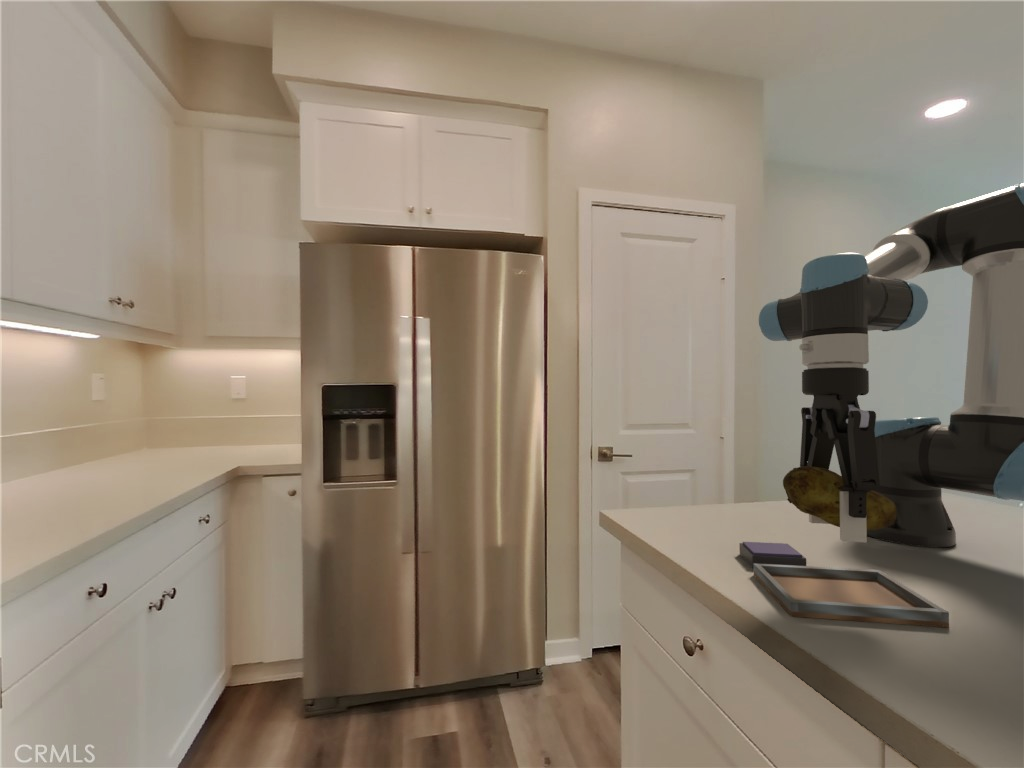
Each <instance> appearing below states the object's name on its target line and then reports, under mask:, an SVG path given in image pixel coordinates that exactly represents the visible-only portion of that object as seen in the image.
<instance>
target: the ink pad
mask: <svg viewBox="0 0 1024 768" xmlns="http://www.w3.org/2000/svg"><path fill="white" fill-rule="evenodd" d="M739 555H740V557H742V559H743V560H744V561H745V562H746V563H747V564H748V565H749V566H750V567H751V568H752V569H754V567H753V563H756V564H775V565H794V566H807V558H806V557H805V556H804V555H803V554H802V553H800V552H799V551H798V550H797V549H796V548H794V547H792V546H791V544H788V543H783V542H780V543H779V542H759V541H758V542H756V541H742V542H740V543H739Z"/></svg>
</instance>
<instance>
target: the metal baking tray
mask: <svg viewBox="0 0 1024 768" xmlns="http://www.w3.org/2000/svg"><path fill="white" fill-rule="evenodd" d="M753 567H754V568H753V576H754V577H755V578H756V579H757V580H758V581H759V583H760V584H761V585H763V587H764V588H765V590H767V591H768V592H769V594H770V595H771V596H772V597H773V598H774V599H775V600H776V601H777V602H778V603H779V605H780V606H781V607H782V608H783V609H784V610H785V611H786V612H787V613H788V615H790V617H795V618H797V617H798V618H811V619H812V618H813V619H824V620H839V621H840V620H841V621H852V622H853V621H855V622H870V623H883V624H896V625H897V624H898V625H910V626H911V625H912V626H924V627H926V626H927V627H938V628H939V627H940V628H941V627H942V628H950V613H949V611H947V609H944V608H942V607H941V606H939V605H938V604H936V603H934V602H933V601H931V600H929V599H927V598H926V597H925V596H922V595H921V594H920V593H918V592H916V591H915V590H913V589H911V588H910V587H908V586H906V585H905V584H903V583H901V582H900V581H898V580H897V579H895V578H894V577H892V576H890V575H888V574H887V573H885V572H884V571H882V570H880V569H865V568H848V567H830V566H829V567H828V566H826V567H825V566H811V565H806V566H794V565H775V564H756V563H753Z"/></svg>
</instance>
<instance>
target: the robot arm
mask: <svg viewBox="0 0 1024 768" xmlns="http://www.w3.org/2000/svg"><path fill="white" fill-rule="evenodd" d="M960 266H961V270H962V271H964V272H965V273H967V275H968V274H969V275H970V276H972V285H971V299H970V311H969V315H970V316H969V325H968V337H967V351H966V365H965V380H964V390H963V391H964V392H963V404H962V406H961V407H959V408H958V409H956V410H954V411H953V412H951V413H950V417H949V424H942V421H941V420H940V418H939V417H938V416H927V417H926V416H925V417H923V416H922V417H921V416H920V417H907V418H889V419H877V413H876V412H875V411H874V410H863V409H861V408H860V404H859V400H858V396H867V395H868V393H869V391H870V390H869V389H870V386H869V385H870V382H869V381H870V380H869V379H870V377H869V376H870V375H869V370H867V369H868V368H865V367H864V365H866V364H869V361H870V358H869V357H870V355H869V332H871V331H880V332H881V331H882V332H891V331H902V330H906V329H909V328H911V327H912V326H914V325H916V324H917V323H918V322H920V320H922V319H923V318H924V315H925V314H926V312H927V310H928V304H929V299H928V295H927V294H926V292H925V290H924V289H923V287H921V286H919V285H918V284H917V283H914V282H911V281H909V280H911V279H914V278H916V277H917V276H919V275H921V274H925V273H930V272H933V271H937V270H938V271H939V270H943V269H950V268H953V267H960ZM800 284H801V285H800V289H799V292H797V293H795V294H794V295H792V296H790V297H786V298H778V299H777V300H773V301H771V302H768V303H766V304H765V305H763V307H762V308H761V309H760V312H759V315H758V326H759V329H760V332H761V333H762V335H763V336H764V337H765V338H766V339H768V340H769V341H773V342H782V341H783V342H784V341H786V342H791V341H795V340H801V344H799V351H801V353H802V354H801V357H802V358H801V359H802V360H801V363H802V365H803V366H805V367H807V368H806V369H803V371H801V392H802V393H803V395H806V396H813V399H812V400H813V401H812V406H811V407H808V406H807V407H806V406H805V407H801V410H800V413H801V419H802V420H801V421H802V425H801V426H802V427H801V443H800V460H799V461H800V462H799V467H802V466H811V467H819V468H824V469H828V470H830V465H831V461H832V456H833V451H834V448H835V453H836V457H837V462H838V467H839V471H840V476H842V480H843V485H844V486H840V487H838V489H839V491H840V527H839V540H840V541H842V542H849V543H850V542H851V543H867V542H868V539H867V537H871V538H874V539H878V540H882V541H887V542H890V543H895V544H899V545H900V544H901V545H906V546H914V547H924V548H947V547H948V548H949V547H953V546H955V545H956V543H957V538H956V537H957V536H956V534H957V533H956V530H955V527H954V525H953V523H952V521H951V518H950V516H949V513H948V511H947V509H946V507H945V504H944V502H943V500H942V489H945V490H950V491H957V492H962V493H968V494H969V493H970V494H975V495H978V496H979V495H980V496H986V497H992V498H997V499H1001V500H1006V501H1010V500H1013V501H1020V502H1024V182H1021V183H1015V184H1014V186H1013V185H1012V186H1010V187H1007V188H1004V189H1001V190H997V191H994V192H991V193H988V194H984V195H981V196H978V197H975V198H972V199H968V200H966V201H962V202H958V203H955V204H951V205H948V206H946V207H942V208H939V209H937V210H935V211H932V212H930V213H928V214H925V215H923V216H921V217H919V218H918V219H916V220H914V221H912V222H909V223H908V224H907V225H905V226H904V227H902V228H899V229H898V230H896V231H894V232H893V233H891V234H889V235H887V236H885V237H883V238H882V239H881V240H880V241H878V243H876V245H874V247H873V249H872V250H871V251H870V252H868V253H866V254H864V255H863V254H862V253H858V252H857V253H856V252H842V253H834V254H827V255H824V256H823V255H822V256H820V257H817V258H814V259H812V260H810V261H808V262H807V263H806V264H805V265H804V266H803V268H802V271H801V283H800ZM870 491H875V492H877V493H879V494H881V495H883V496H885V497H887V498H888V499H890V500H891V501H892V502H893V503H894V504H895V505H896V507H897V517H896V521H895V522H894V523H893V524H892V525H890V526H888V527H885V528H881V529H877V530H867V524H866V515H867V507H866V495H867V492H870ZM808 522H809V523H811V524H827V525H830V524H829V523H827V522H826V521H824V520H822V519H820V518H818V517H816V516H813V515H810V514H808Z"/></svg>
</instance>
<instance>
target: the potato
mask: <svg viewBox="0 0 1024 768" xmlns="http://www.w3.org/2000/svg"><path fill="white" fill-rule="evenodd" d="M782 486H783V489H784V491H785V494H786V497H787V499H786V500H787V502H789V504H792V505H793V506H795V507H796V509H798V510H799V511H800V512H802V513H804V514H807V515H809V514H810V515H813V516H816V517H818V518H820V519H822V520H824V521H826V522H827V523H829V524H828V525H832V526H834V527H838V528H840V491H839V489H838V487H840V486H844V485H843V480H842V476H841V474H838V472H835V471H832V470H831V469H829V470H828V469H824V468H819V467H811V466H802V467H800V466H798V467H794V468H793V469H791V470H789V471H788V472H787V473H786V474H785V475H784V476H783V480H782ZM866 507H867V515H866V524H867V530H877V529H881V528H885V527H888V526H890V525H892V524H893V523H894V522H895V521H896V517H897V507H896V505H895V504H894V503H893V502H892V501H891V500H890V499H888V498H887V497H885V496H883V495H881V494H879V493H877V492H875V491H870V492H867V495H866Z"/></svg>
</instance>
